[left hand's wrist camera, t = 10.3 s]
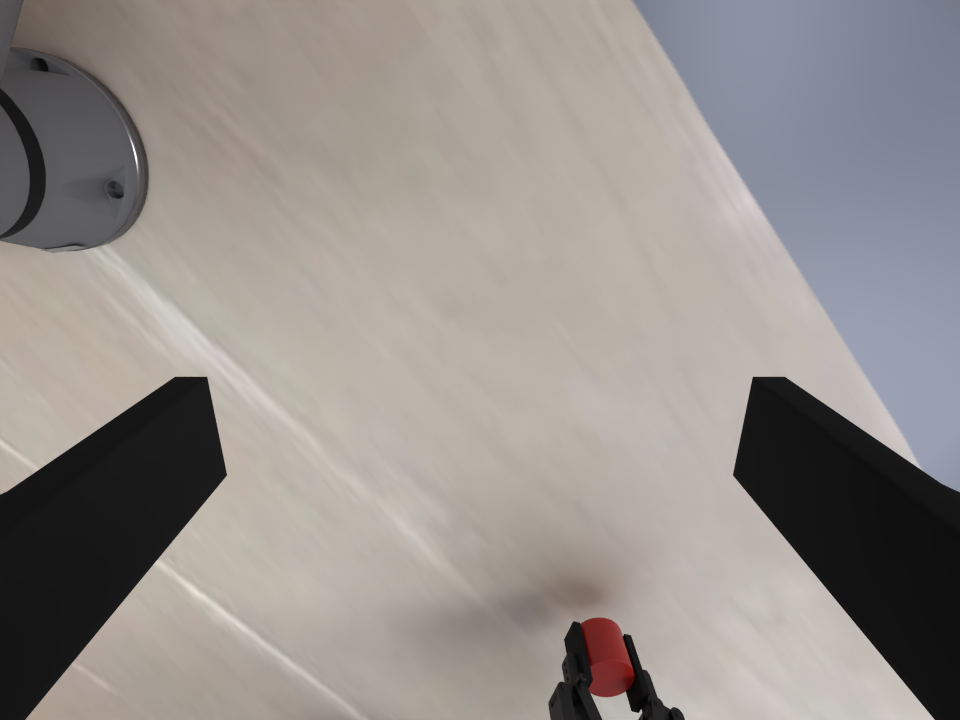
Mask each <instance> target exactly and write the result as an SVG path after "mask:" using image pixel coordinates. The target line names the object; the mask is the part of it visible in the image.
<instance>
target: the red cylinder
mask: <svg viewBox="0 0 960 720" xmlns="http://www.w3.org/2000/svg"><path fill="white" fill-rule="evenodd" d="M580 625H581V629H582V634H583V638H584V642H585V647H586V651H587V655H588V660H589V664H590V668H591V673H592V677H593V682H592V684H591V685H590V687H589V691H590V693H591V694H593V695H596V696H600V697H612V696H617V695H619V694H622V693H624V692H625V691H627V690H628V689H629V688H630V687H631V685H632V684H633V681H634V671H633V668H632V665H631V661H630V658H629V655H628V652H627V649H626V646H625V642H624V639H623V636H622V633H621V630H620V628H619V626H618V625H617V624H616V623H615V622H613V621H612V620H609V619H606V618H592V619H589V620H586V621H584V622H583V623H581V624H580Z"/></svg>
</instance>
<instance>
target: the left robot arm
mask: <svg viewBox="0 0 960 720" xmlns="http://www.w3.org/2000/svg"><path fill="white" fill-rule="evenodd" d="M22 4H23V0H0V241H4V242H9V243H14V244H19V245H24V246H29V247H35V248H39V249H45V250H41V251H47V252H53V253H54V252H62V251H78V250H85V249H90V248H94V247H98V246H102V245H105V244H108V243H110V242H112V241H114V240H116V239H117V238H119V237H120V236H122V235H123V234H124V233H125V232H126V231H127V230H129V229H130V227H131V226H132V225H133V224H134V222H135V221H136V219H137V218H138V216H139V214H140V212H141V210H142V208H143V205H144V202H145V198H146V194H147V187H148V168H147V161H146V156H145V152H144V148H143V145H142V142H141V139H140V136H139V134H138V132H137V129H136V127H135V125H134V124H133V122H132V120H131V118H130V116H129V115H128V113H127V112H126V110H125V109H124V107H123V106H122V105H121V103H120V102H119V101H118V99H117V98H116V97H115V96H114V95H113V94H112V93H111V92H110V91H109V90H108V89H107V88H106V87H105V86H104V85H103V84H102V83H101V82H100V81H99V80H97V79H96V78H95V77H94V76H92V75H91V74H90V73H88V72H87V71H85V70H84V69H82V68H80V67H79V66H77V65H75V64H73V63H71V62H69V61H67V60H65V59H62V58H59V57H57V56H53V55H50V54H46V53H42V52H38V51H35V50H30V49H24V48H11V44H12V40H13V36H14V33H15V29H16V25H17V22H18V18H19V15H20V11H21V7H22ZM226 476H227V473H226V468H225V463H224V458H223V453H222V448H221V443H220V438H219V433H218V428H217V423H216V419H215V414H214V409H213V404H212V399H211V394H210V389H209V384H208V379H207V377H174V378H173V379H171V380H170V381H168V382H167V383H166V384H164V385H163V386H161V387H160V388H158V389H157V390H155V391H154V392H152V393H151V394H149V395H148V396H146V397H145V398H144V399H142V400H141V401H139V402H138V403H136V404H135V405H133V406H132V407H130V408H129V409H127V410H126V411H125V412H123V413H122V414H120V415H119V416H117V417H116V418H114V419H113V420H111V421H110V422H108V423H107V424H105V425H104V426H103V427H101V428H100V429H98V430H97V431H95V432H94V433H92V434H91V435H89V436H88V437H86V438H85V439H84V440H82V441H81V442H79V443H78V444H76V445H75V446H73V447H72V448H70V449H69V450H67V451H66V452H64V453H63V454H62V455H60V456H59V457H57V458H56V459H54V460H53V461H51V462H50V463H48V464H47V465H45V466H44V467H43V468H41V469H40V470H38V471H37V472H35V473H34V474H32V475H31V476H29V477H28V478H26V479H25V480H23V481H22V482H21V483H19V484H18V485H16V486H15V487H13V488H12V489H10V490H9V491H7V492H5V493H3V494H1V495H0V720H25V719H26V718H27V717H28V716H29V714H30V713H31V712H32V711H33V710H34V708H35V707H36V706H37V705H38V703H39V702H40V701H41V700H42V699H43V697H44V696H45V695H46V694H47V693H48V691H49V690H50V689H51V688H52V687H53V685H54V684H55V683H56V682H57V680H58V679H59V678H60V677H61V676H62V674H63V673H64V672H65V671H66V670H67V668H68V667H69V666H70V665H71V663H72V662H73V661H74V660H75V659H76V657H77V656H78V655H79V654H80V653H81V651H82V650H83V649H84V648H85V647H86V645H87V644H88V643H89V642H90V640H91V639H92V638H93V637H94V636H95V634H96V633H97V632H98V631H99V630H100V628H101V627H102V626H103V625H104V624H105V622H106V621H107V620H108V619H109V617H110V616H111V615H112V614H113V613H114V611H115V610H116V609H117V608H118V607H119V605H120V604H121V603H122V602H123V601H124V599H125V598H126V597H127V596H128V594H129V593H130V592H131V591H132V590H133V588H134V587H135V586H136V585H137V584H138V582H139V581H140V580H141V579H142V578H143V576H144V575H145V574H146V573H147V571H148V570H149V569H150V568H151V567H152V565H153V564H154V563H155V562H156V561H157V559H158V558H159V557H160V556H161V554H162V553H163V552H164V551H165V550H166V548H167V547H168V546H169V545H170V544H171V542H172V541H173V540H174V539H175V538H176V536H177V535H178V534H179V533H180V531H181V530H182V529H183V528H184V527H185V525H186V524H187V523H188V522H189V521H190V519H191V518H192V517H193V516H194V515H195V513H196V512H197V511H198V510H199V508H200V507H201V506H202V505H203V504H204V502H205V501H206V500H207V499H208V498H209V496H210V495H211V494H212V493H213V492H214V490H215V489H216V488H217V487H218V485H219V484H220V483H221V482H222V481H223V479H224V478H225V477H226ZM733 476H734V477H735V478H736V479H737V481H738V482H739V483H740V484H741V485H742V487H743V488H744V489H745V490H746V492H747V493H748V494H749V495H750V496H751V498H752V499H753V500H754V501H755V502H756V504H757V505H758V506H759V507H760V508H761V510H762V511H763V512H764V513H765V515H766V516H767V517H768V518H769V519H770V521H771V522H772V523H773V524H774V525H775V527H776V528H777V529H778V530H779V531H780V533H781V534H782V535H783V536H784V538H785V539H786V540H787V541H788V542H789V544H790V545H791V546H792V547H793V548H794V550H795V551H796V552H797V553H798V555H799V556H800V557H801V558H802V559H803V561H804V562H805V563H806V564H807V565H808V567H809V568H810V569H811V570H812V571H813V573H814V574H815V575H816V576H817V578H818V579H819V580H820V581H821V582H822V584H823V585H824V586H825V587H826V588H827V590H828V591H829V592H830V593H831V594H832V596H833V597H834V598H835V599H836V601H837V602H838V603H839V604H840V605H841V607H842V608H843V609H844V610H845V611H846V613H847V614H848V615H849V616H850V617H851V619H852V620H853V621H854V622H855V624H856V625H857V626H858V627H859V628H860V630H861V631H862V632H863V633H864V634H865V636H866V637H867V638H868V639H869V640H870V642H871V643H872V644H873V645H874V647H875V648H876V649H877V650H878V651H879V653H880V654H881V655H882V656H883V657H884V659H885V660H886V661H887V662H888V663H889V665H890V666H891V667H892V668H893V670H894V671H895V672H896V673H897V674H898V676H899V677H900V678H901V679H902V680H903V682H904V683H905V684H906V685H907V687H908V688H909V689H910V690H911V691H912V693H913V694H914V695H915V696H916V697H917V699H918V700H919V701H920V702H921V703H922V705H923V706H924V707H925V708H926V710H927V711H928V712H929V713H930V714H931V716H932V717H933V718H934V719H935V720H960V492H958V491H955V490H953V489H951V488H949V487H947V486H945V485H943V484H941V483H939V482H938V481H937V480H935V479H934V478H932V477H931V476H929V475H928V474H926V473H925V472H923V471H922V470H920V469H919V468H917V467H916V466H915V465H913V464H912V463H910V462H909V461H907V460H906V459H904V458H903V457H901V456H900V455H898V454H897V453H896V452H894V451H893V450H891V449H890V448H888V447H887V446H885V445H884V444H882V443H881V442H879V441H878V440H876V439H875V438H874V437H872V436H871V435H869V434H868V433H866V432H865V431H863V430H862V429H860V428H859V427H857V426H856V425H855V424H853V423H852V422H850V421H849V420H847V419H846V418H844V417H843V416H841V415H840V414H838V413H837V412H835V411H834V410H833V409H831V408H830V407H828V406H827V405H825V404H824V403H822V402H821V401H819V400H818V399H816V398H815V397H814V396H812V395H811V394H809V393H808V392H806V391H805V390H803V389H802V388H800V387H799V386H797V385H796V384H794V383H793V382H792V381H790V380H789V379H787V378H786V377H753V379H752V384H751V389H750V394H749V399H748V404H747V409H746V414H745V419H744V423H743V428H742V433H741V438H740V443H739V448H738V453H737V458H736V463H735V468H734V473H733Z"/></svg>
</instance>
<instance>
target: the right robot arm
mask: <svg viewBox="0 0 960 720" xmlns="http://www.w3.org/2000/svg"><path fill="white" fill-rule="evenodd" d="M623 639H624V642H625V646H626V649H627V652H628V655H629V658H630V661H631V665H632V668H633V671H634V681H633V684H632V685H631V687H630V688H629V689H628V690H627V691H626V694H627V697H628V700H629V704H630V707H631V711H633V712H637V713H639V712H640V710H641V709H642V712H643V713H642V714H641V716H640V718H639V719H638V720H685V719H684V716H683V714H682V712H681V711H680V710H679V709H678V708H675V707H673V708H671V709H669V708H667V707H665V706H664V705H663V703H662V701H661V700H660V699H659V698H658V697H657V695H656V692H655V689H654V686H653V683H652V680H651V677H650V675H649V673H648V672H647V670H642V667H641V664H640V661H639V658H638V655H637V652H636V649H635V646H634V643H633V640H632V637H631V635H627V634H624V636H623ZM564 642H565V647H566V652H567V655H566V657H565V659H564V661H563V664H562V670H563V675H564V681H565V682H559V683H558V685H557V687H556V689H555V691H554V693H553V695H552V697H551V699H550V701H549V711H550V717H551V720H602V718H601V716H600V714H599V711H598V709H597V707H596V705H595V703H594V700H593V698H592V696H591V694H590V691H589V687H590V685H591V684H592V682H593V677H592V673H591V668H590V664H589V660H588V655H587V651H586V647H585V642H584V638H583V634H582V629H581V625H580V623H578V622H574V621H573V623H572V625H571V627H570V629H569V631H568V633H567V635H566V637H565V639H564Z"/></svg>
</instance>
